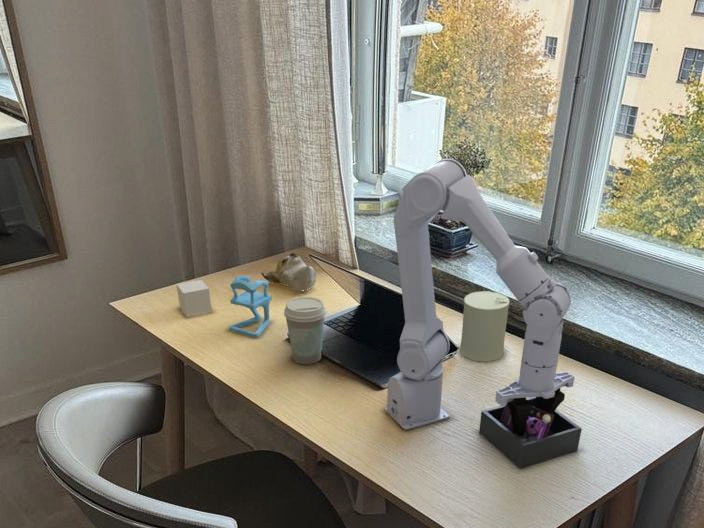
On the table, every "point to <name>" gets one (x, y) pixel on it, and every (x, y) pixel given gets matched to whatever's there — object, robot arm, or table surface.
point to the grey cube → (194, 298)
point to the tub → (530, 437)
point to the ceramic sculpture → (292, 274)
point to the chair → (250, 304)
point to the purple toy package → (530, 422)
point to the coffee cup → (305, 328)
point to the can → (484, 326)
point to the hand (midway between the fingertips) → (529, 430)
